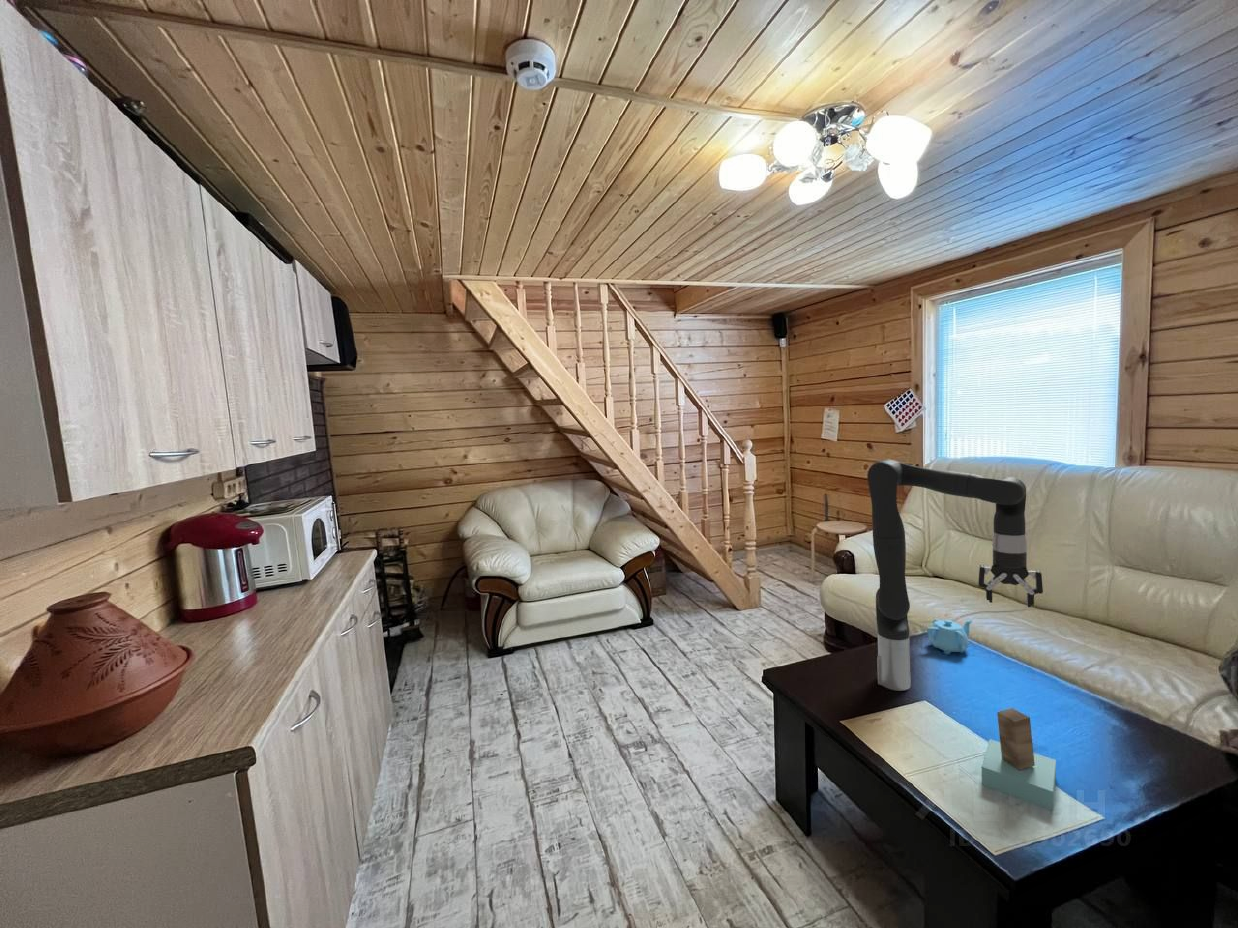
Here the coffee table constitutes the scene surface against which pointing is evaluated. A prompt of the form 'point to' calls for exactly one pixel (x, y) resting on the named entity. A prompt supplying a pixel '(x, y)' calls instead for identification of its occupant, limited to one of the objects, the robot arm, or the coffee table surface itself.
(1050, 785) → the teal block
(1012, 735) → the walnut pillar
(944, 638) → the teapot
